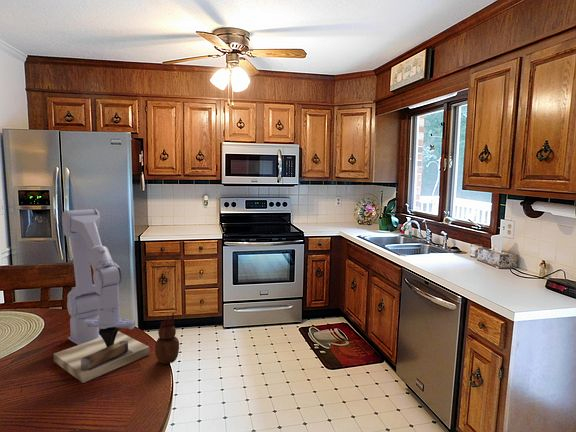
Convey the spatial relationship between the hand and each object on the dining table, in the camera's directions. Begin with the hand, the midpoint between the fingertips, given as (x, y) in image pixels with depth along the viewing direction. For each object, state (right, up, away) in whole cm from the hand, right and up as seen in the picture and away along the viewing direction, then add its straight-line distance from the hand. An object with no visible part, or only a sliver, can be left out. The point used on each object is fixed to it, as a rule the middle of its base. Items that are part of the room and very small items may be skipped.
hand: (110, 350), depth 110 cm
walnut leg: (0, -1, -4) cm, 4 cm away
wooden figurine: (+17, -4, +1) cm, 17 cm away
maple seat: (-3, -3, +2) cm, 5 cm away
